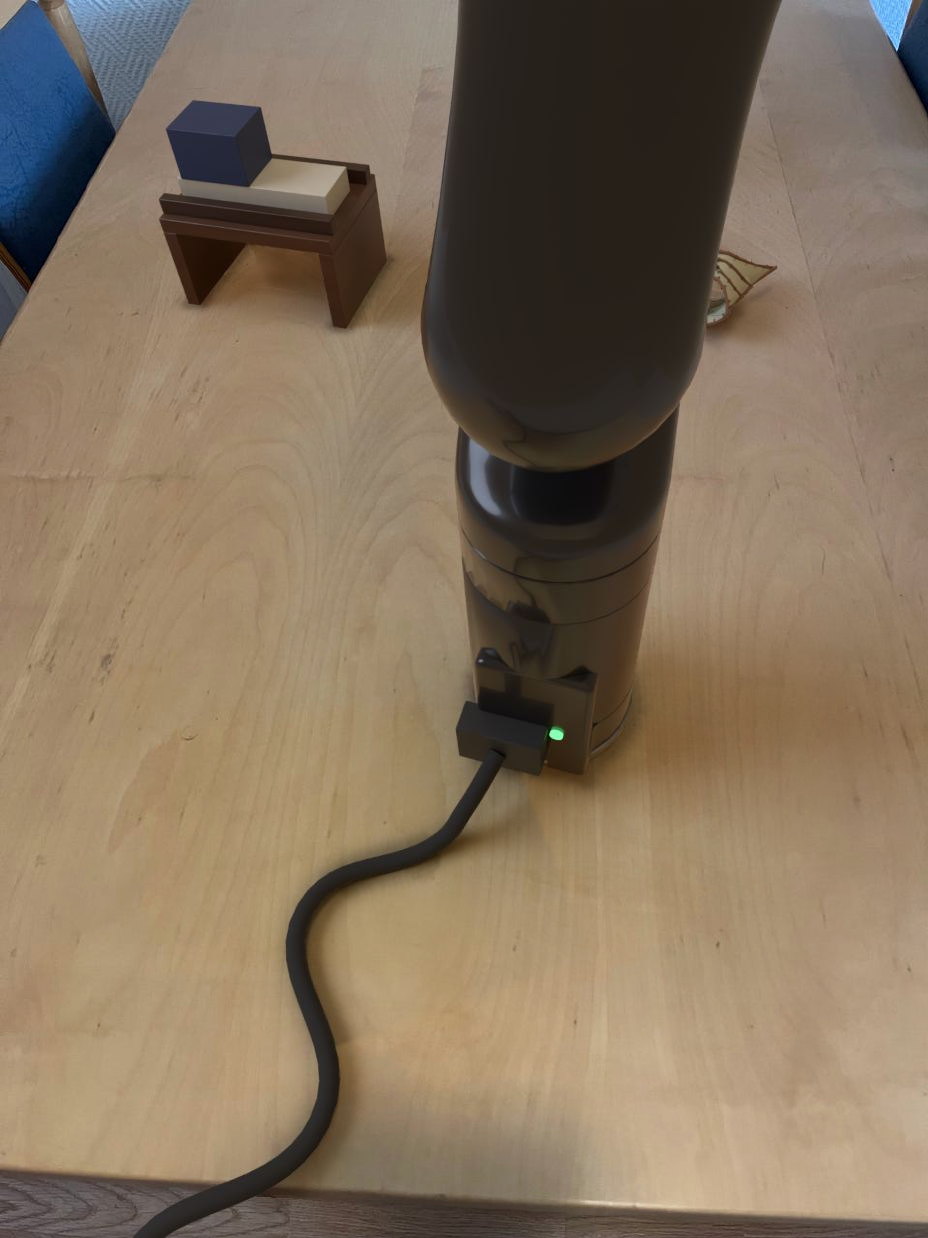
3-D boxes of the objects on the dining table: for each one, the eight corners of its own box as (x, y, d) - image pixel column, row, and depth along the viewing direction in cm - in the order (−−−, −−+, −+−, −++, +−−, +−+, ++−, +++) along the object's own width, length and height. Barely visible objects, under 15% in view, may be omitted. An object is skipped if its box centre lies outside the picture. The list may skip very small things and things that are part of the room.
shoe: (350, 189, 74) (338, 114, 69) (329, 221, 71) (314, 144, 66) (208, 172, 77) (187, 98, 72) (183, 202, 74) (159, 127, 69)
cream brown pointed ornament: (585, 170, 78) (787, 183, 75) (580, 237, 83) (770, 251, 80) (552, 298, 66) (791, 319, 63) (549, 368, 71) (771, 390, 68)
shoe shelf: (346, 328, 76) (326, 227, 69) (188, 303, 79) (153, 204, 72) (387, 260, 81) (373, 159, 74) (237, 239, 85) (209, 140, 77)
